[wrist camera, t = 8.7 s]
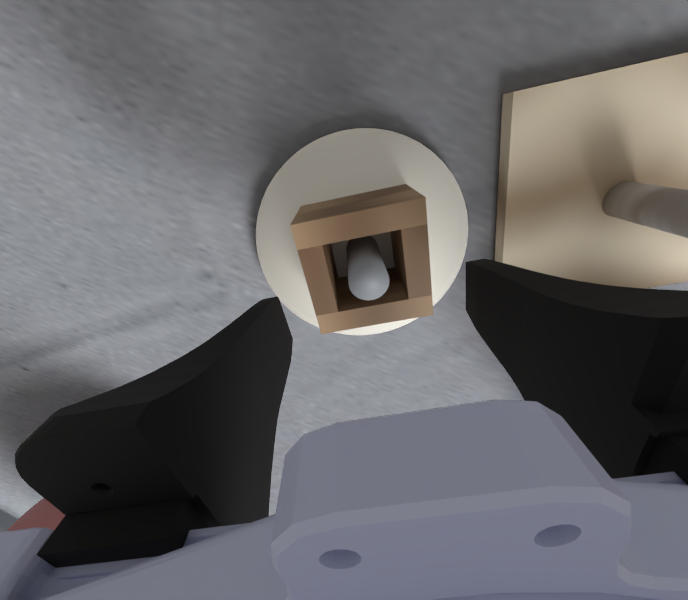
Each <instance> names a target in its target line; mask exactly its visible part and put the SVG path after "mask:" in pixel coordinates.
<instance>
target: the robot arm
mask: <svg viewBox="0 0 688 600" xmlns="http://www.w3.org/2000/svg"><path fill="white" fill-rule="evenodd" d="M466 311H467V313H468V315H469V317H470V319H471V321H472V323H473V324H474V326H475V328H476V330H477V331H478V333H479V334H480V336H481V337H482V338H483V340H484V341H485V342H486V344H487V345H488V347H489V348H490V349H491V351H492V352H493V353H494V355H495V356H496V357H497V359H498V360H499V361H500V363H501V364H502V365H503V367H504V368H505V369H506V371H507V372H508V374H509V375H510V377H511V378H512V380H513V381H514V383H515V384H516V386H517V387H518V389H519V391H520V393H521V394H522V396H523V398H524V400H525V401H519V400H489V401H482V402H475V403H468V404H461V405H454V406H448V407H441V408H434V409H427V410H420V411H413V412H406V413H400V414H393V415H386V416H379V417H372V418H365V419H358V420H352V421H345V422H338V423H335V424H332V425H329V426H326V427H323V428H320V429H318V430H315V431H312V432H309V433H307V434H305V435H303V436H302V437H301V438H300V439H299V440H298V442H297V443H296V444H295V445H294V446H293V447H292V448H291V449H290V450H289V451H288V453H287V454H286V455H285V461H284V467H283V473H282V479H281V485H280V490H279V496H278V502H277V508H276V514H274V515H271V516H268V515H269V498H270V485H271V472H272V461H273V451H274V442H275V434H276V426H277V419H278V413H279V408H280V404H281V400H282V396H283V392H284V388H285V384H286V379H287V375H288V371H289V367H290V362H291V355H292V341H293V338H292V336H291V333H290V330H289V327H288V324H287V321H286V318H285V315H284V312H283V309H282V306H281V303H280V300H279V298H278V297H273V298H268V299H263V300H261V301H259V302H258V303H256V304H255V305H254V306H252V307H251V308H250V309H248V310H247V311H246V312H245V313H243V314H242V315H241V316H240V317H238V318H237V319H236V320H235V321H233V322H232V323H231V324H230V325H228V326H227V327H226V328H224V329H223V330H221V331H220V332H219V333H217V334H216V335H215V336H213V337H212V338H211V339H209V340H208V341H206V342H205V343H203V344H202V345H200V346H199V347H197V348H195V349H194V350H192V351H190V352H189V353H187V354H186V355H184V356H182V357H180V358H179V359H177V360H175V361H173V362H171V363H169V364H167V365H165V366H163V367H161V368H159V369H158V370H156V371H154V372H152V373H150V374H147V375H145V376H143V377H141V378H139V379H137V380H134V381H132V382H130V383H127V384H125V385H123V386H120V387H118V388H116V389H113V390H111V391H108V392H106V393H103V394H100V395H97V396H95V397H92V398H89V399H87V400H84V401H81V402H78V403H76V404H73V405H70V406H67V407H64V408H61V409H59V410H58V411H56V412H55V413H54V414H52V415H51V416H50V417H49V418H48V419H47V420H46V421H45V422H44V423H43V424H42V425H41V426H40V427H39V428H38V429H37V430H36V431H35V432H34V433H33V434H32V435H31V436H30V437H28V438H27V439H26V440H25V441H24V442H23V443H22V444H21V445H20V446H19V448H18V450H17V452H16V453H15V464H16V468H17V470H18V472H19V474H20V476H21V478H22V479H23V480H24V481H25V482H26V483H27V484H28V485H29V486H30V487H32V488H33V489H34V490H35V491H36V492H38V493H39V494H40V495H41V496H43V497H44V498H45V499H46V500H47V501H49V502H50V503H51V504H52V505H53V506H55V507H56V508H57V509H58V510H60V511H61V512H62V513H63V514H64V515H65V514H66V515H65V516H64V518H63V519H62V520H61V522H60V523H59V525H58V526H57V527H56V529H55V530H51V529H47V528H29V529H21V530H13V531H5V532H0V600H688V291H678V290H657V289H643V288H632V287H620V286H611V285H603V284H596V283H590V282H583V281H577V280H571V279H566V278H561V277H557V276H552V275H548V274H543V273H539V272H535V271H531V270H527V269H524V268H520V267H516V266H513V265H509V264H505V263H501V262H497V261H493V260H487V259H480V260H475V261H469V262H466Z"/></svg>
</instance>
